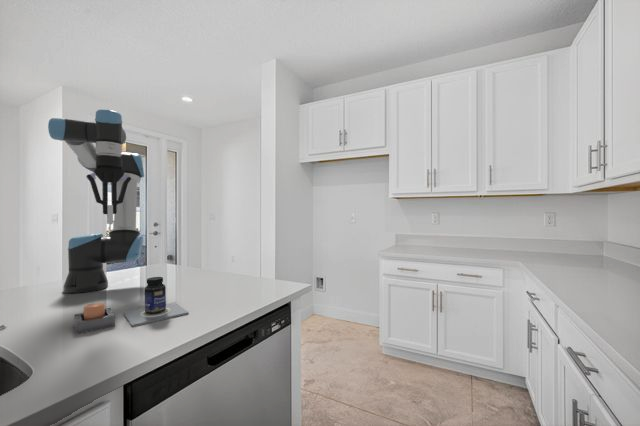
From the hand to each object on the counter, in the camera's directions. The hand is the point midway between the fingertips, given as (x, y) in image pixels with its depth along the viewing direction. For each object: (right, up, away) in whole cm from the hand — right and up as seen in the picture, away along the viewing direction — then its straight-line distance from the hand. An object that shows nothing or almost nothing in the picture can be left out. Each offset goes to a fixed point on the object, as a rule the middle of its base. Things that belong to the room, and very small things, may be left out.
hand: (109, 223), depth 104 cm
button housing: (+6, -30, -15) cm, 34 cm away
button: (+6, -29, -15) cm, 33 cm away
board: (+19, -30, -6) cm, 36 cm away
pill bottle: (+19, -29, -6) cm, 35 cm away
